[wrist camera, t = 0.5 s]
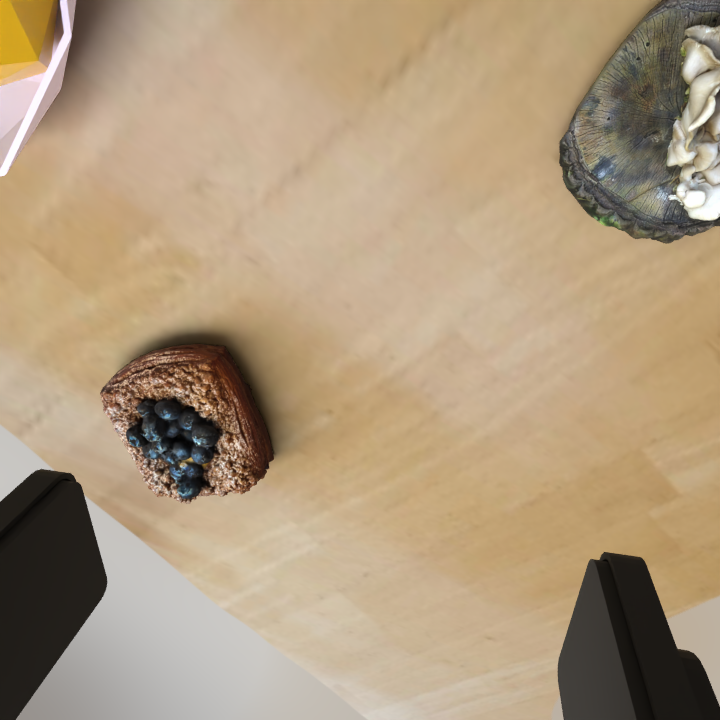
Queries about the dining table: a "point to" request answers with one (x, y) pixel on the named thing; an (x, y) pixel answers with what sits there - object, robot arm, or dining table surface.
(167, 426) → the pastry
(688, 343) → the dining table surface
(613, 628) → the robot arm
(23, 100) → the fruit bowl
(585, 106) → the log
